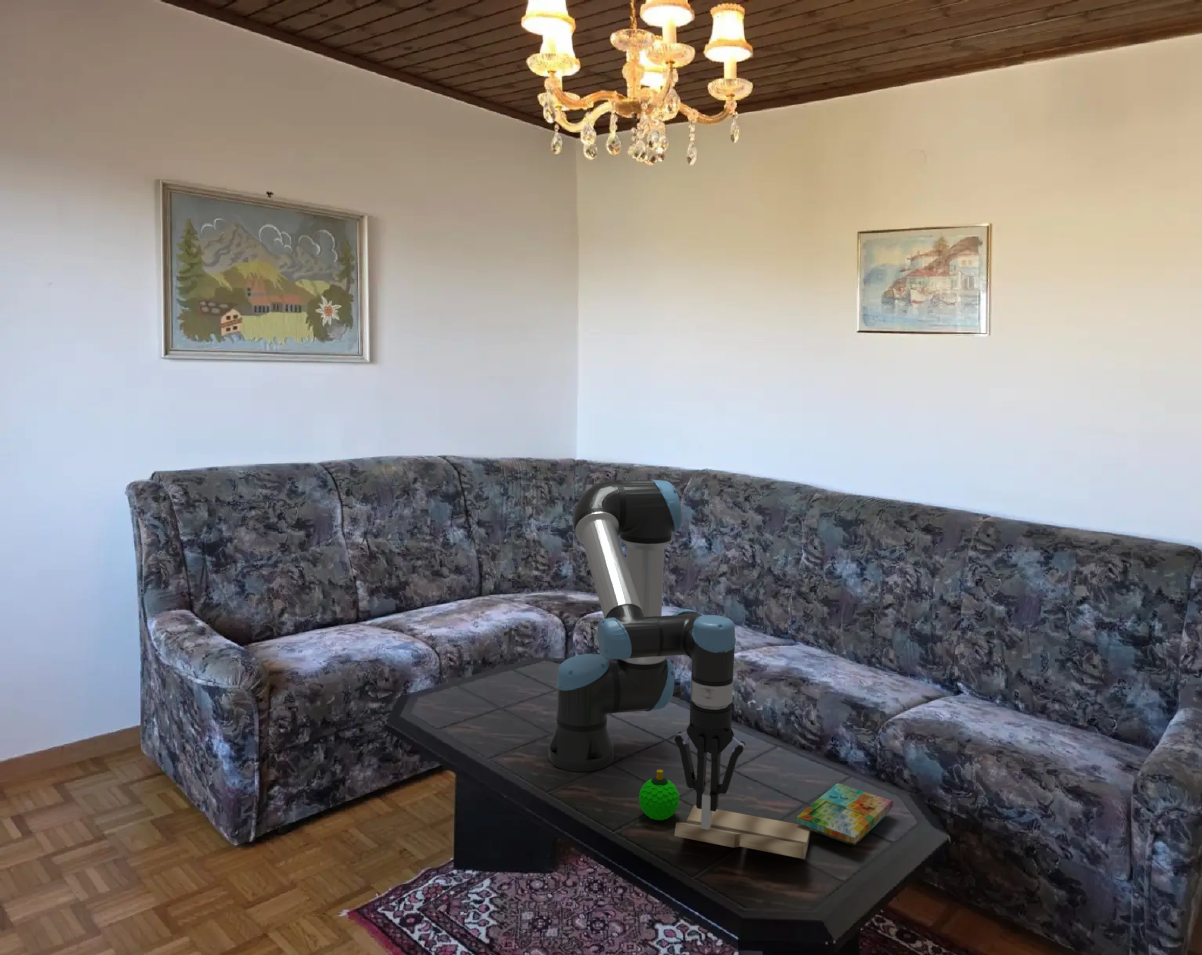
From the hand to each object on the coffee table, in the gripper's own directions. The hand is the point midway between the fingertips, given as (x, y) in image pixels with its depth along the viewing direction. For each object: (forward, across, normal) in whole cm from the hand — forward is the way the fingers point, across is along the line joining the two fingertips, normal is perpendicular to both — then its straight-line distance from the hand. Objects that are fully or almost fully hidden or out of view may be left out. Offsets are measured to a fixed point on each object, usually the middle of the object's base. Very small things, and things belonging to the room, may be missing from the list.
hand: (706, 825), depth 162 cm
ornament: (+7, -12, +11) cm, 18 cm away
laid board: (+7, +6, +11) cm, 14 cm away
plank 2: (+4, +12, +2) cm, 13 cm away
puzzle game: (+6, +24, +21) cm, 32 cm away
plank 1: (+4, 0, +2) cm, 5 cm away
